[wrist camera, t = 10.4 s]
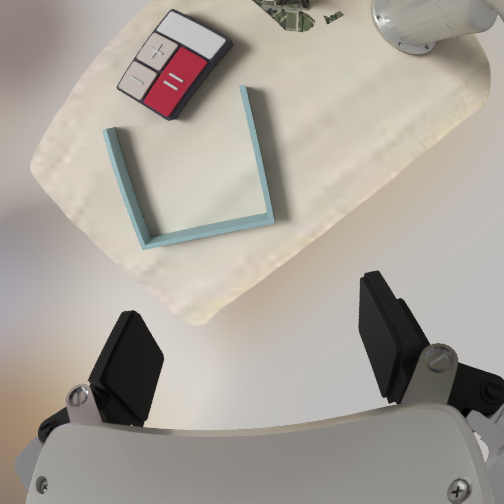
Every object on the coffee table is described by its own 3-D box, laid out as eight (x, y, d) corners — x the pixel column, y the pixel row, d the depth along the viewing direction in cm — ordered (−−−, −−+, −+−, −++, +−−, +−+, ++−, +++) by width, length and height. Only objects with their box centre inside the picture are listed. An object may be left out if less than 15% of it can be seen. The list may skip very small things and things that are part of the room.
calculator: (112, 88, 32) (169, 6, 25) (125, 88, 36) (178, 14, 29) (167, 122, 35) (231, 38, 29) (176, 120, 39) (234, 44, 32)
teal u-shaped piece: (245, 86, 35) (244, 84, 33) (273, 216, 45) (274, 223, 43) (110, 128, 38) (102, 130, 35) (148, 242, 48) (142, 250, 45)
